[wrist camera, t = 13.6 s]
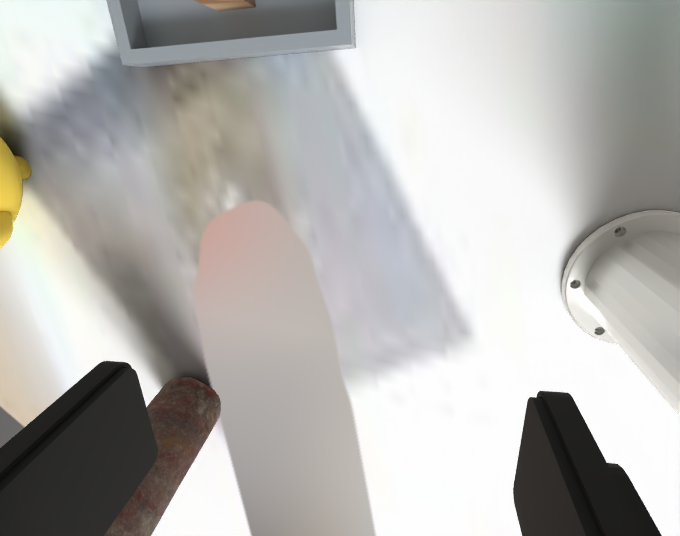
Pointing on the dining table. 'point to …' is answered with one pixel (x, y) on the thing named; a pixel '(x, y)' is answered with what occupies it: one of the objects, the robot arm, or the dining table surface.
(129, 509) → the candle
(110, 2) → the tray
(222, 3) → the ring
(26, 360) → the dining table surface
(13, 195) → the teapot
